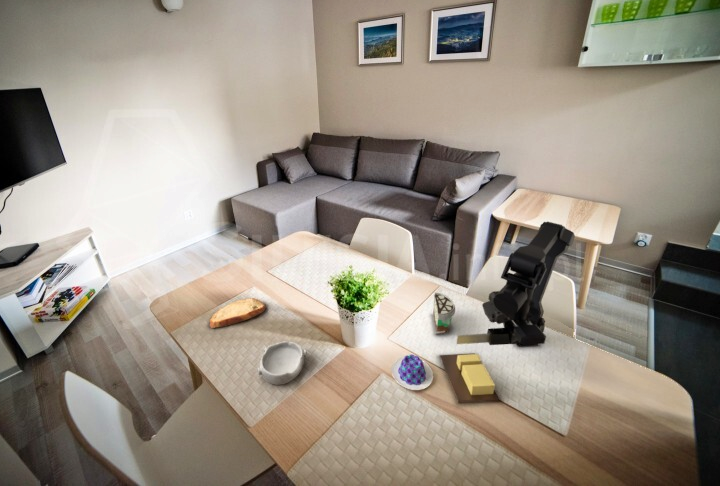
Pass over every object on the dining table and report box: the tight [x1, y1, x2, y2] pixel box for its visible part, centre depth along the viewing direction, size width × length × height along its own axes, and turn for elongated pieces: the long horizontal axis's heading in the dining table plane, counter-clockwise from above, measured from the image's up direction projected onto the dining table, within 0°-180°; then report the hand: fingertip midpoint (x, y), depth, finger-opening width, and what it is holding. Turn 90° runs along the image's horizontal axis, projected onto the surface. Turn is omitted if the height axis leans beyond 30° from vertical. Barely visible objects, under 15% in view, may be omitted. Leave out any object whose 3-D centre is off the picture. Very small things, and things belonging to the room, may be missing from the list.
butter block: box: [461, 363, 496, 395], centre depth 92 cm, size 6×7×4 cm
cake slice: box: [432, 292, 456, 336], centre depth 113 cm, size 12×6×10 cm, turn 168°
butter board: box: [439, 352, 500, 404], centre depth 96 cm, size 11×16×1 cm
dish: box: [257, 340, 308, 385], centre depth 103 cm, size 14×14×5 cm
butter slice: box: [457, 353, 482, 370], centre depth 97 cm, size 6×2×4 cm, turn 90°
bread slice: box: [209, 297, 267, 329], centre depth 128 cm, size 18×18×4 cm
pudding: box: [391, 354, 434, 391], centre depth 97 cm, size 12×12×5 cm
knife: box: [456, 327, 521, 346], centre depth 94 cm, size 21×2×4 cm, turn 89°
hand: (509, 338), depth 94 cm, fingers closed on knife, 2 cm apart
